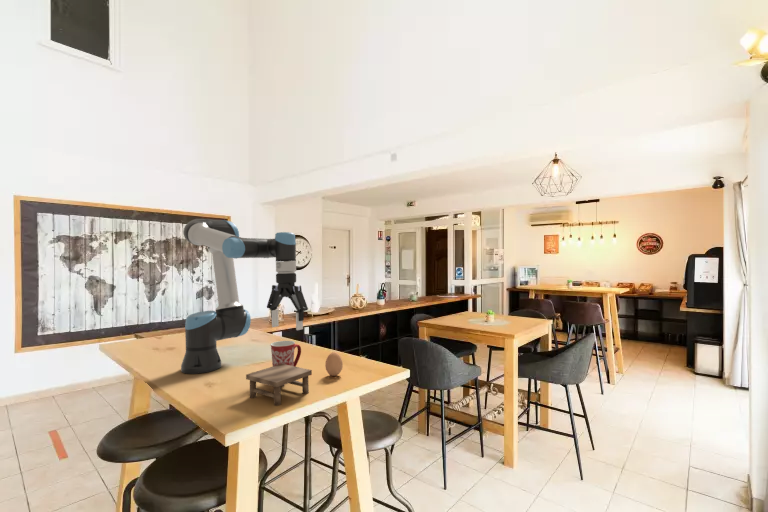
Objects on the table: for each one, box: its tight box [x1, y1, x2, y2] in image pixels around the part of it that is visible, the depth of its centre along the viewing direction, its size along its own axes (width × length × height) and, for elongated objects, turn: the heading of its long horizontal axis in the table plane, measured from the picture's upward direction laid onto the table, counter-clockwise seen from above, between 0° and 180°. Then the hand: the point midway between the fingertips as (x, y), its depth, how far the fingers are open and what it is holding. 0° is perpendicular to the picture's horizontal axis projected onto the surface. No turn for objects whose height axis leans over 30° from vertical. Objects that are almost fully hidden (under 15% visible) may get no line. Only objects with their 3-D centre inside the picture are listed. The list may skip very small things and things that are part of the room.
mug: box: [269, 340, 302, 367], centre depth 145 cm, size 13×9×14 cm
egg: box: [325, 351, 344, 377], centre depth 146 cm, size 7×7×9 cm
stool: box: [245, 364, 313, 406], centre depth 126 cm, size 15×15×8 cm
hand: (287, 328), depth 145 cm, fingers open, 13 cm apart
